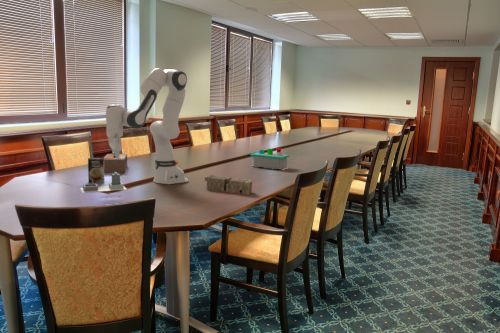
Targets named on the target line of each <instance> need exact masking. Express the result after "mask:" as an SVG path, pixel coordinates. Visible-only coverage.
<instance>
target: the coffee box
mask: <svg viewBox="0 0 500 333" xmlns="http://www.w3.org/2000/svg"><path fill="white" fill-rule="evenodd" d="M87 165H88V166H87V169H88V170H87V171H88V173H87V174H88V176H87V177H88V180H87V181H88V184H100V183H101V184H104V183H105V173H104V157H88V158H87Z"/></svg>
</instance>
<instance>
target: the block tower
mask: <svg viewBox="0 0 500 333" xmlns="http://www.w3.org/2000/svg"><path fill="white" fill-rule="evenodd" d="M204 181H205V182H206V190H211V191H218V192H226V193H233V194H242V195H251V194H252V193H253V192H252V190H253V180H252V179H247V178H237V177H233V178H232V177H229V176H224V175H222V176H220V175H213V174H209V175H206V176H205V177H204Z"/></svg>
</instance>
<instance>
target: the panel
mask: <svg viewBox="0 0 500 333" xmlns="http://www.w3.org/2000/svg"><path fill="white" fill-rule="evenodd" d="M121 190H122V191H124V190H127V187H126V186H125V185H124V183H123V182H122V181H120V184H117V185H112V181H111V182H108V185H103V186H99V185H98V183H85V184H84V183H83V184H82V187H80V191H81V193H82V194H83V193H84V194H85V193H94V192H95V193H97V192H109V191H110V192H111V191H121Z"/></svg>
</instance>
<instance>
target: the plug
mask: <svg viewBox="0 0 500 333" xmlns="http://www.w3.org/2000/svg"><path fill="white" fill-rule="evenodd" d="M111 182H112V185H117V184H120V182H121V173H117V172H114V173H111Z"/></svg>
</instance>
